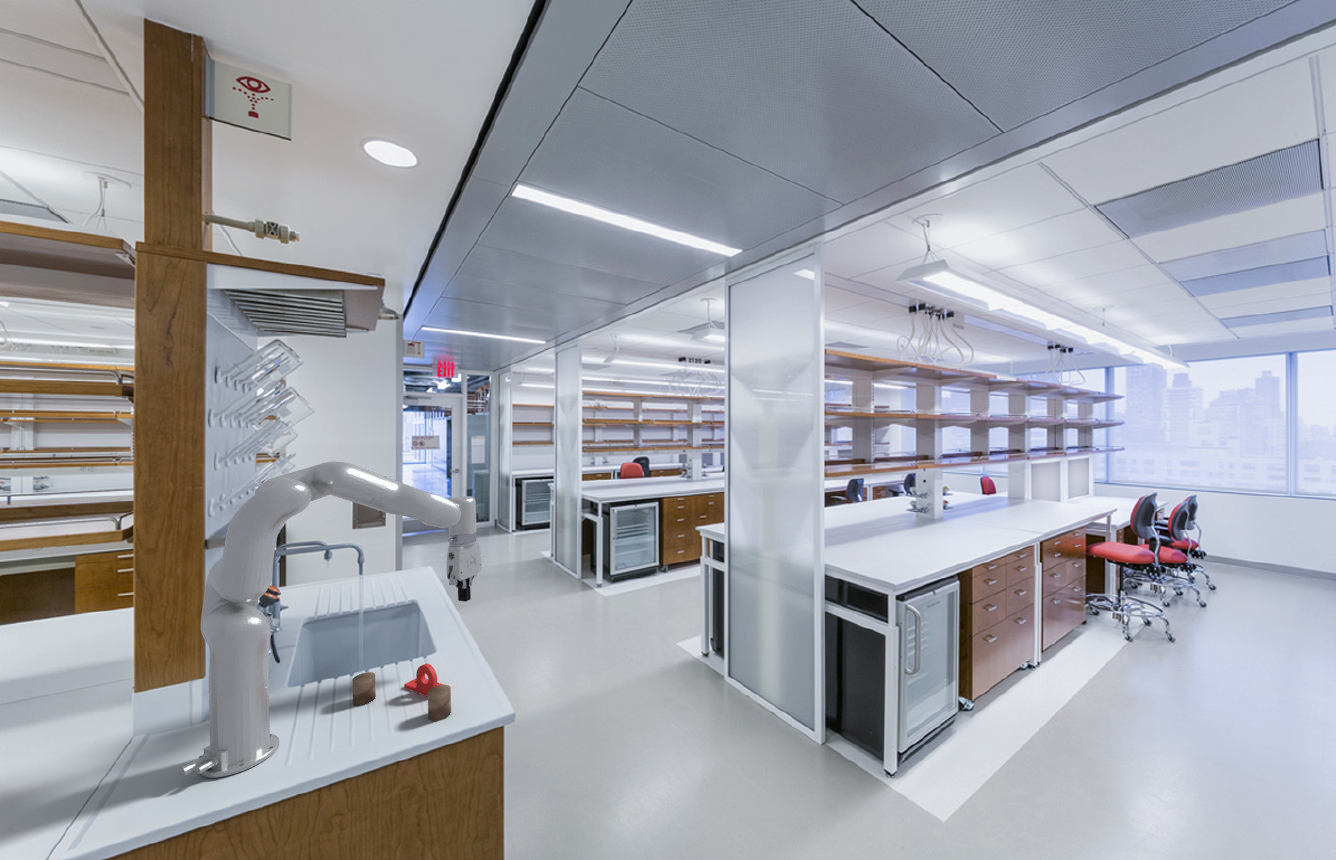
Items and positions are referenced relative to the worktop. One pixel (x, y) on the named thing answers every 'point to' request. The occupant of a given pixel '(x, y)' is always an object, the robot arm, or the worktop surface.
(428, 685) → the bracket
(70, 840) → the worktop surface
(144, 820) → the worktop surface
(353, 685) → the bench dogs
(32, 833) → the worktop surface
